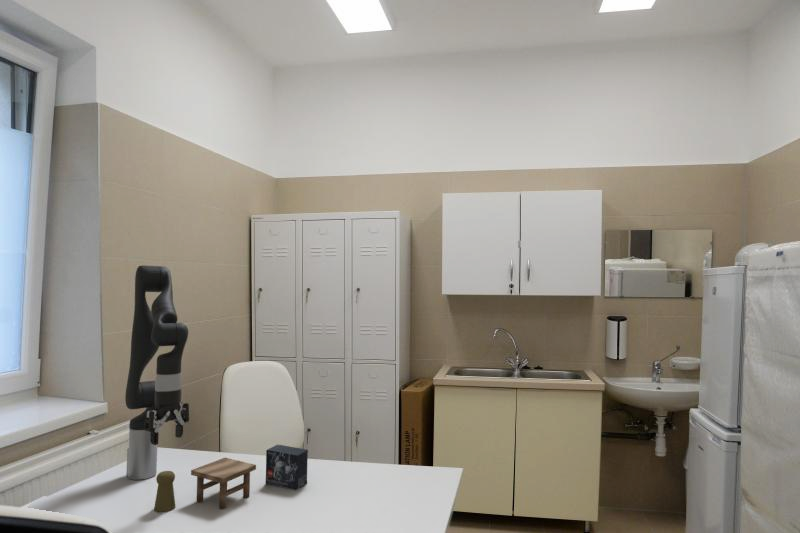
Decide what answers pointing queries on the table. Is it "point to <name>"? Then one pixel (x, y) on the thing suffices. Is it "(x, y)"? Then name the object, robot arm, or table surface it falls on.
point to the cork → (165, 492)
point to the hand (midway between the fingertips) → (166, 440)
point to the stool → (223, 478)
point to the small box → (286, 467)
